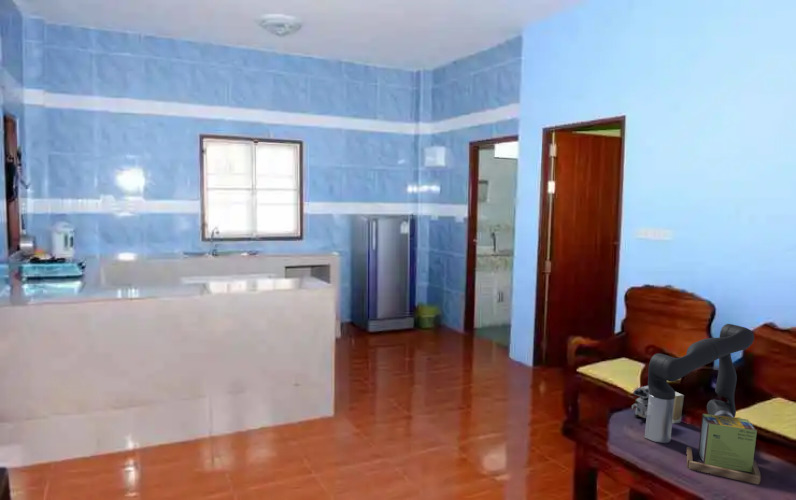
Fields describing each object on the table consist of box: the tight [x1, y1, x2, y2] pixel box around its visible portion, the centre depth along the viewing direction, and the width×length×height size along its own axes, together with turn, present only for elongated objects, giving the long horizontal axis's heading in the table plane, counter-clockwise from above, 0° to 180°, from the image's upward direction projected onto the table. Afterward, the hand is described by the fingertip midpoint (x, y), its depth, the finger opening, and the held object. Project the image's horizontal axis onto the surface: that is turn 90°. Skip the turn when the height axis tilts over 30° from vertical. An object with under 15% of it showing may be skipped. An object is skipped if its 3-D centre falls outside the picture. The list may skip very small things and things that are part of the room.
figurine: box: [631, 384, 649, 419], centre depth 243 cm, size 9×12×15 cm
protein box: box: [697, 413, 758, 473], centre depth 207 cm, size 10×15×16 cm
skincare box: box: [672, 391, 685, 424], centre depth 246 cm, size 6×4×12 cm
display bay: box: [686, 446, 762, 485], centre depth 203 cm, size 22×14×2 cm, turn 65°
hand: (729, 438), depth 212 cm, fingers closed
